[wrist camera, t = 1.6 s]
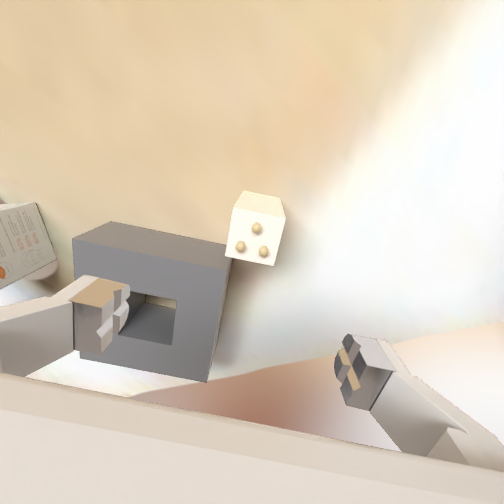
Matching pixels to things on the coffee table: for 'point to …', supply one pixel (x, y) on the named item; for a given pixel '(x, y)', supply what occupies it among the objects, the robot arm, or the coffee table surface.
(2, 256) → the small box
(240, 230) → the plug peg
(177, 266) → the socket block
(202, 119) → the coffee table surface
